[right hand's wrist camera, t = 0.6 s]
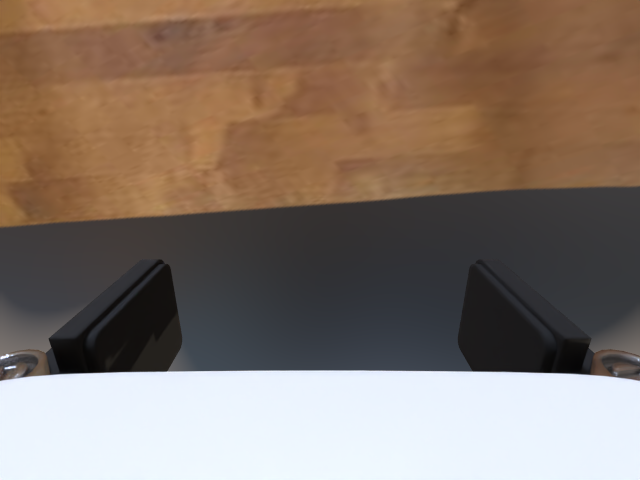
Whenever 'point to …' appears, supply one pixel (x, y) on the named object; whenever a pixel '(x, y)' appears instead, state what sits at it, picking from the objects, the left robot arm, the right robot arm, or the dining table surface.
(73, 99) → the dining table surface
